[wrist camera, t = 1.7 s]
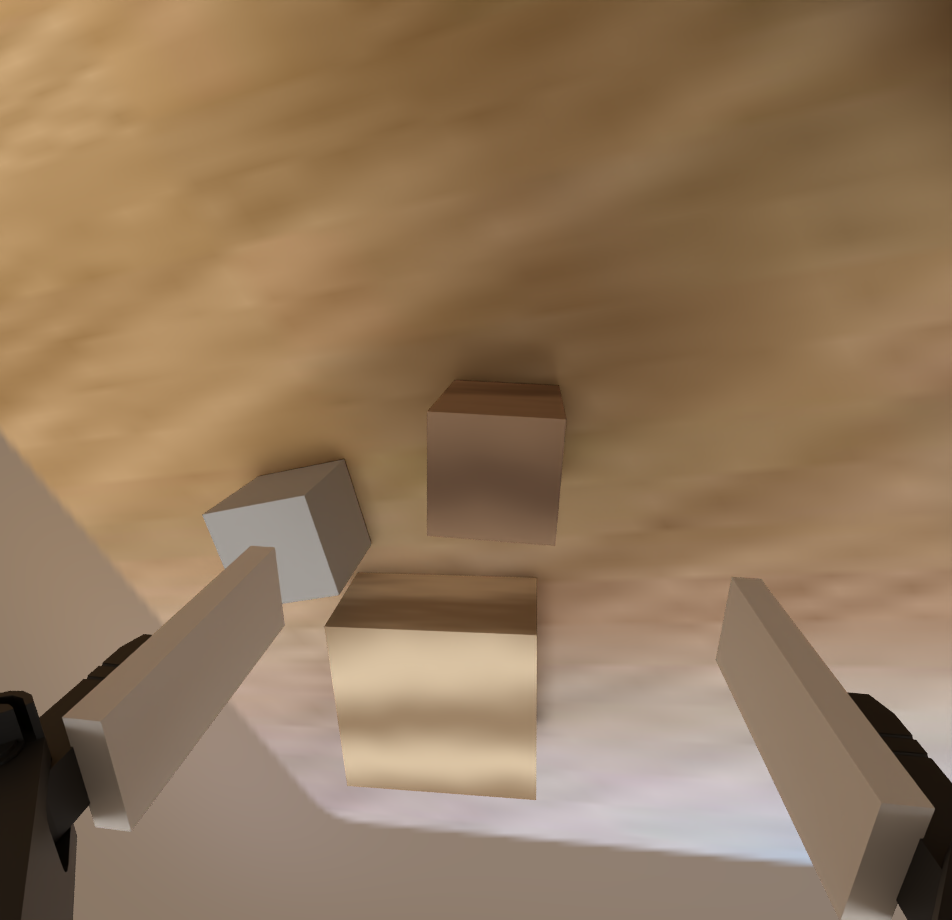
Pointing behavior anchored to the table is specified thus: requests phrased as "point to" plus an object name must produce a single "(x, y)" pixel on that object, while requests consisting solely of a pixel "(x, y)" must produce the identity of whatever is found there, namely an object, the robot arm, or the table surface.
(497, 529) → the walnut block
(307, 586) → the slate cube
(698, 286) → the table surface
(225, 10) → the table surface
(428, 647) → the birch block
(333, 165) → the table surface
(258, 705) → the table surface
